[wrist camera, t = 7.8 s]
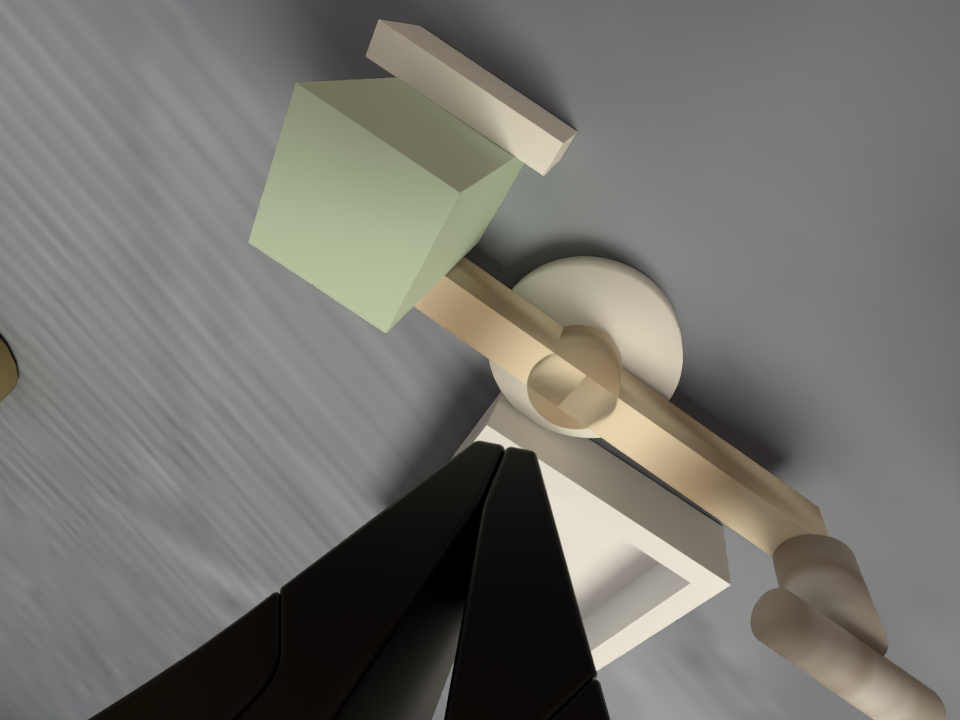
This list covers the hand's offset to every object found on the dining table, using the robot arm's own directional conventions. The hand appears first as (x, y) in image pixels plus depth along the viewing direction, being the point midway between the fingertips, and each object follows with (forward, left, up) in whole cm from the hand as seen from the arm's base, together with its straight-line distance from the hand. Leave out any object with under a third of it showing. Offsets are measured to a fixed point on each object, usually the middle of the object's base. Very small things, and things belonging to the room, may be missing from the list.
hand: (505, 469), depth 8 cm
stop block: (+5, +1, -13) cm, 14 cm away
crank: (-4, +4, -11) cm, 13 cm away
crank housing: (+1, +3, -13) cm, 13 cm away
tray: (-6, +13, -13) cm, 19 cm away
